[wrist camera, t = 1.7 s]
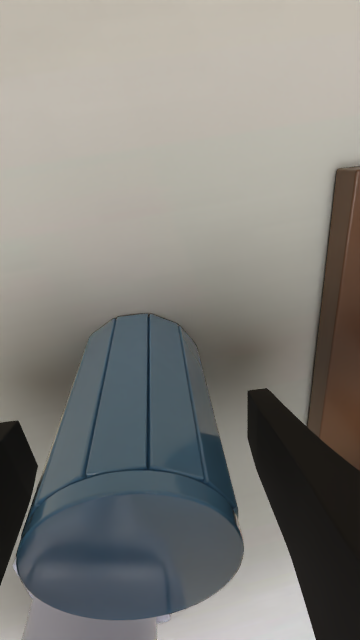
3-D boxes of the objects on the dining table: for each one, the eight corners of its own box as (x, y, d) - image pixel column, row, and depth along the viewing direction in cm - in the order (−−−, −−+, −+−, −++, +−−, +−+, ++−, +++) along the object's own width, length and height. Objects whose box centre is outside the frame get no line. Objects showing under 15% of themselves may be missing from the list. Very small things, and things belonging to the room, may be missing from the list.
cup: (201, 402, 15) (245, 604, 8) (96, 416, 15) (51, 634, 8) (193, 306, 13) (244, 475, 6) (69, 321, 12) (-23, 512, 6)
